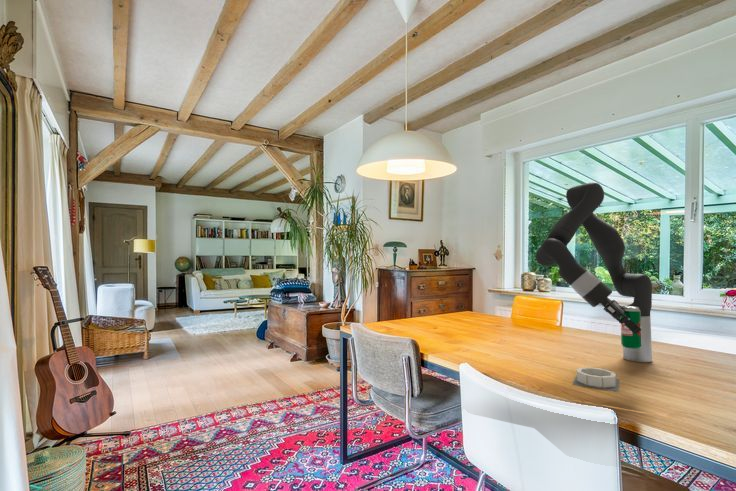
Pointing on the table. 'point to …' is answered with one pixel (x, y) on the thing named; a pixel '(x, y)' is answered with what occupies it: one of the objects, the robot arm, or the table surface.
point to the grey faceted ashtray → (596, 377)
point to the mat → (597, 387)
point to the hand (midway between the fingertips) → (638, 330)
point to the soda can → (626, 334)
